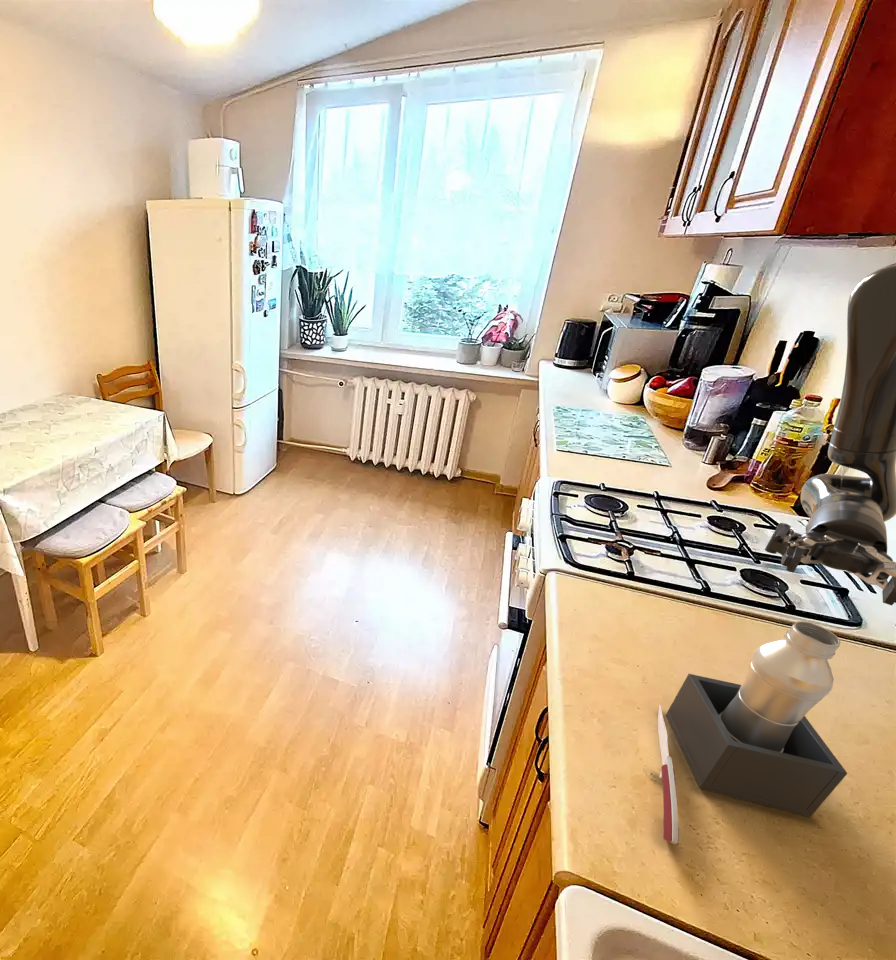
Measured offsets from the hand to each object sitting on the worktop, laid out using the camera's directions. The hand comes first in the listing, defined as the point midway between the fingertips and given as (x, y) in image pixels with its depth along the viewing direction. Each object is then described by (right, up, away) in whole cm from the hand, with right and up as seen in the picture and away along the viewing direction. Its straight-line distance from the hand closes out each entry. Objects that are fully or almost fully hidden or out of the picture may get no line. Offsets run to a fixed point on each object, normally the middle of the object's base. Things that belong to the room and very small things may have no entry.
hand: (840, 581), depth 63 cm
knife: (-23, -23, -1) cm, 33 cm away
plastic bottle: (-13, -22, 0) cm, 25 cm away
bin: (-13, -22, +1) cm, 26 cm away
